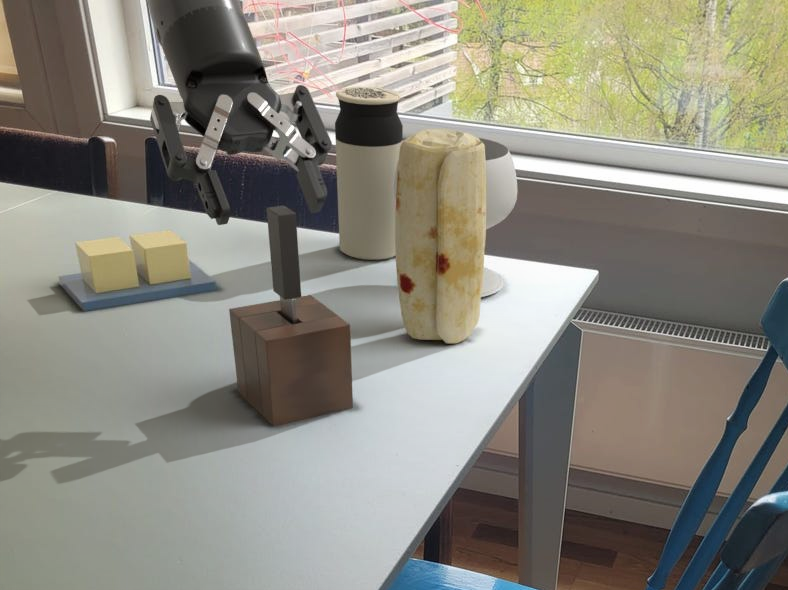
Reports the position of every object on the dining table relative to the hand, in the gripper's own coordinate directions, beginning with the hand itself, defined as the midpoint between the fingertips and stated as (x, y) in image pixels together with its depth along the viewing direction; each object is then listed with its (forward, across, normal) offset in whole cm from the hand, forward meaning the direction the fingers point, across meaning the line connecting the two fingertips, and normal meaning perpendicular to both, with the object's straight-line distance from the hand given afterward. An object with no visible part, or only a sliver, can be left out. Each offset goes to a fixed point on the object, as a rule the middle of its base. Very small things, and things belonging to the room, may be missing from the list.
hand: (273, 213), depth 84 cm
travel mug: (-11, +27, +34) cm, 45 cm away
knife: (+13, 0, +10) cm, 16 cm away
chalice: (-1, +30, +24) cm, 38 cm away
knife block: (+13, 0, +10) cm, 16 cm away
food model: (+8, +20, +15) cm, 26 cm away
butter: (-11, -3, +34) cm, 36 cm away
